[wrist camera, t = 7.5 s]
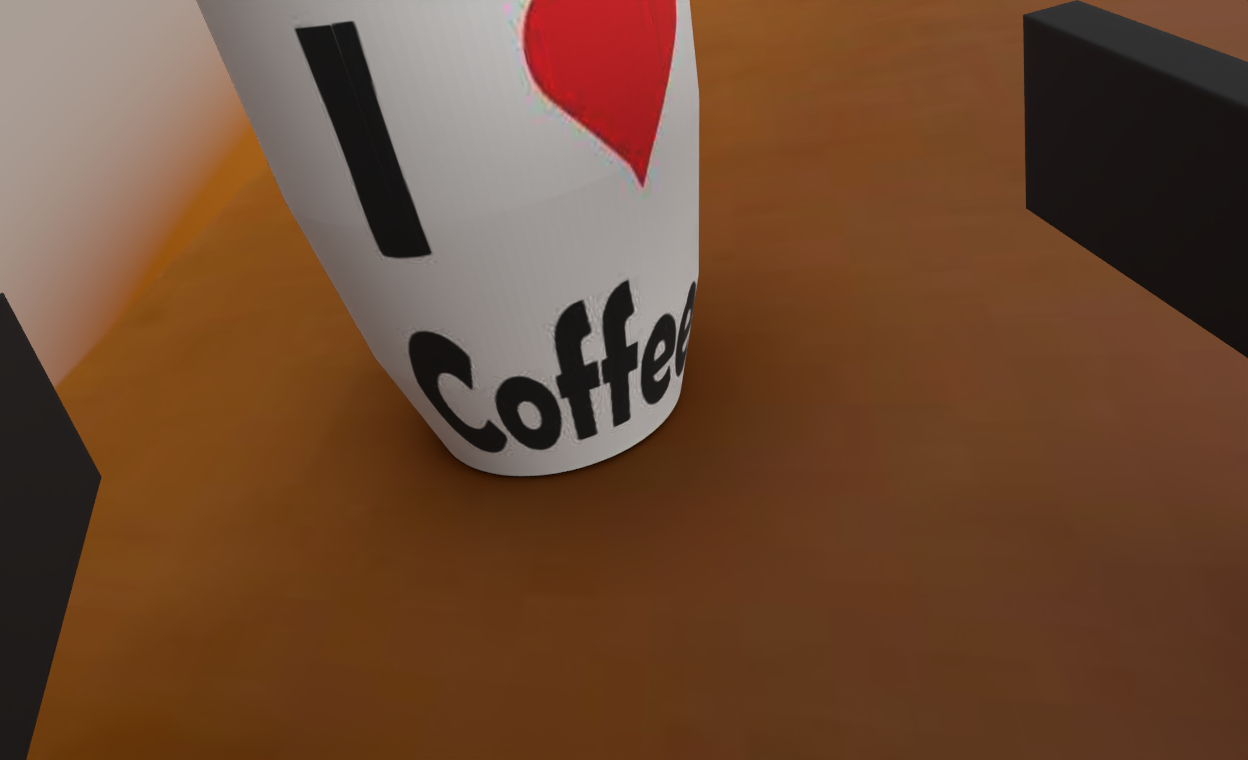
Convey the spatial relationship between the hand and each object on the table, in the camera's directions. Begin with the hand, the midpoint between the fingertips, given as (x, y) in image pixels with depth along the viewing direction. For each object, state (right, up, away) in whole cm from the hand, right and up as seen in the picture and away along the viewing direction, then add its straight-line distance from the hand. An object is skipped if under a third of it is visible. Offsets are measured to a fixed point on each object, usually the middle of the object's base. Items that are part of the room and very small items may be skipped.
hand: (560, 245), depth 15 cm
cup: (0, -2, +9) cm, 10 cm away
